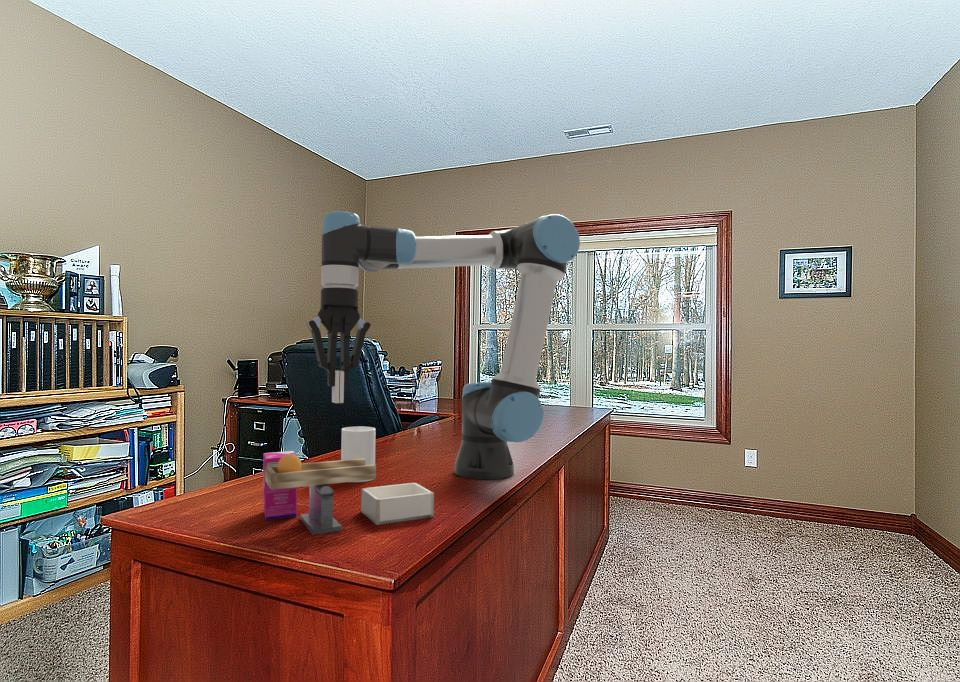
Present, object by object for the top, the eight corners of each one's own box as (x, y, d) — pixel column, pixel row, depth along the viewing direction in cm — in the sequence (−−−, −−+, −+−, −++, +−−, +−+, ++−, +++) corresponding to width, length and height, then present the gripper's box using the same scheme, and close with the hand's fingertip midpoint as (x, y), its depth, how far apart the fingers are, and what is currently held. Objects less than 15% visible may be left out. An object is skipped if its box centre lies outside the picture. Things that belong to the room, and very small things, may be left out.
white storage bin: (414, 504, 117) (415, 482, 117) (433, 516, 109) (433, 493, 109) (361, 511, 111) (361, 488, 111) (376, 525, 103) (376, 499, 103)
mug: (355, 470, 147) (356, 423, 147) (386, 472, 145) (387, 425, 145) (333, 481, 136) (334, 430, 136) (366, 483, 134) (367, 432, 134)
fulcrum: (327, 515, 109) (328, 474, 109) (341, 530, 100) (342, 486, 100) (300, 518, 106) (301, 477, 106) (312, 534, 97) (313, 489, 97)
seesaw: (354, 465, 116) (354, 452, 116) (375, 479, 104) (376, 465, 104) (259, 473, 107) (260, 460, 107) (271, 489, 96) (271, 474, 96)
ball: (298, 473, 103) (299, 451, 103) (303, 478, 100) (304, 455, 100) (275, 476, 101) (275, 453, 101) (279, 480, 98) (279, 457, 98)
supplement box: (262, 512, 110) (263, 452, 110) (294, 509, 112) (295, 450, 113) (263, 520, 105) (264, 457, 105) (297, 517, 107) (298, 455, 107)
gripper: (365, 291, 125) (363, 399, 125) (303, 287, 119) (300, 401, 119) (376, 288, 119) (374, 403, 118) (311, 284, 112) (308, 405, 112)
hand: (337, 402), depth 118 cm, fingers closed
